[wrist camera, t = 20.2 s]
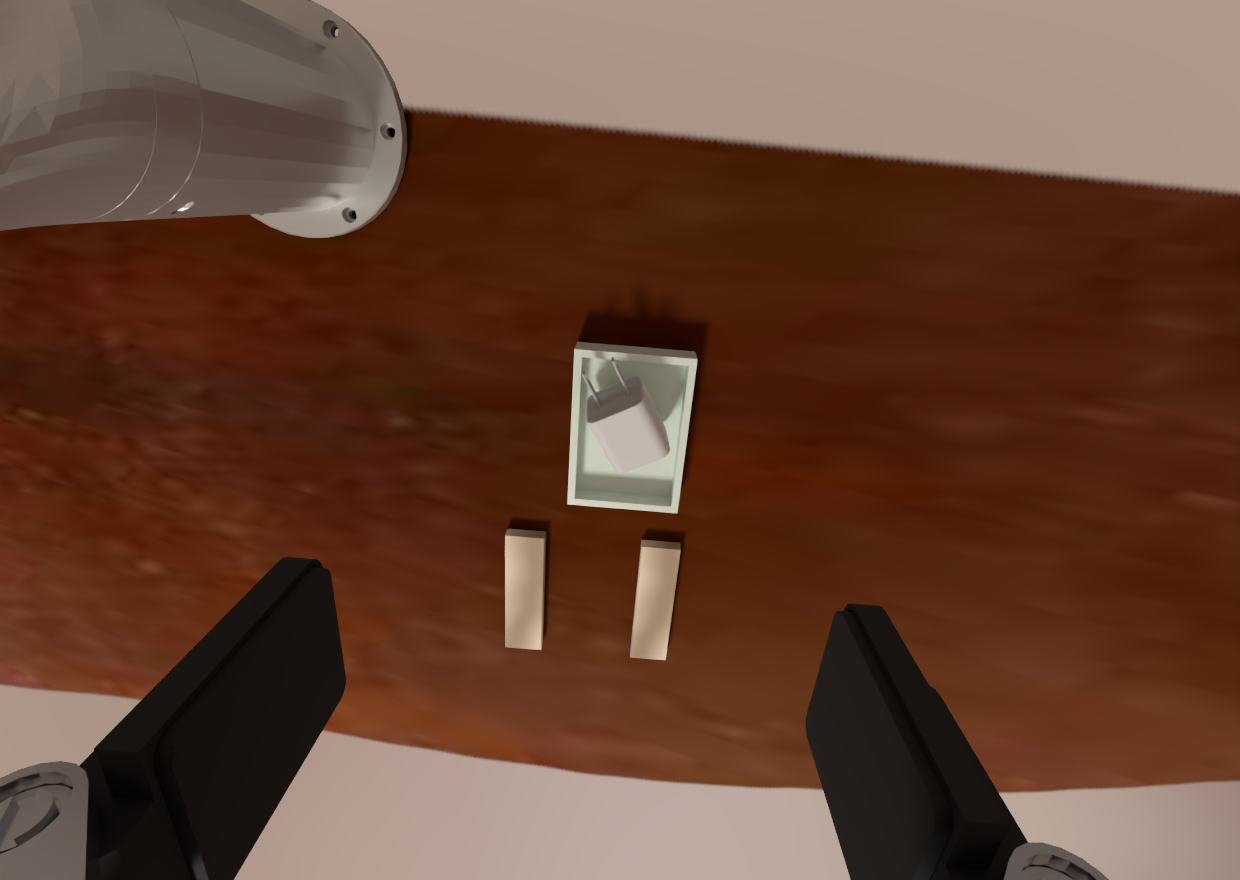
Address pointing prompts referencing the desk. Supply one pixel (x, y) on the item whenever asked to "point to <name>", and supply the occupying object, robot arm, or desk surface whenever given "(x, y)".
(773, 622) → the desk surface
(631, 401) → the usb wall charger
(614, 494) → the tray
